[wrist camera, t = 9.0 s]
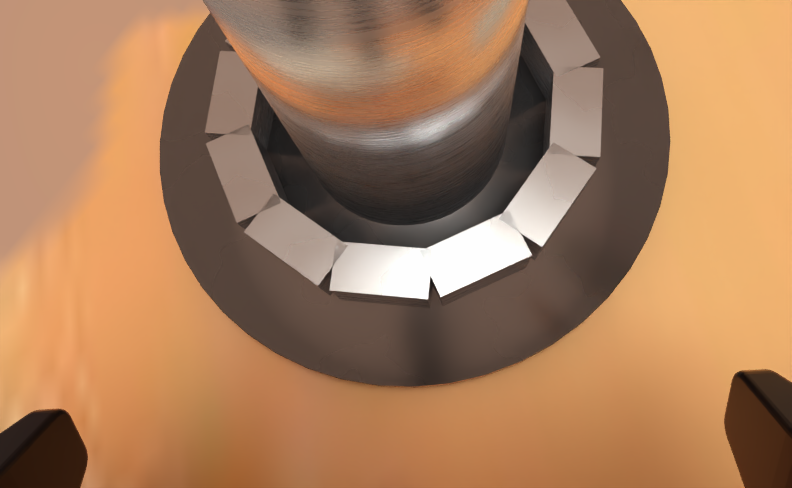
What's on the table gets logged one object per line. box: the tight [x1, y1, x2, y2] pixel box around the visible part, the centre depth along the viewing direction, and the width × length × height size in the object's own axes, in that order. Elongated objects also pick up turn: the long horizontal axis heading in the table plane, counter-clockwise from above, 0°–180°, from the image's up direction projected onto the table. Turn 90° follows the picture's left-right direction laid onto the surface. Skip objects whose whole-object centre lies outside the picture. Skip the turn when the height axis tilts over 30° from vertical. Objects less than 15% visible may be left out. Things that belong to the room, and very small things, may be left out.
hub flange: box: [160, 0, 670, 387], centre depth 17 cm, size 14×14×2 cm
